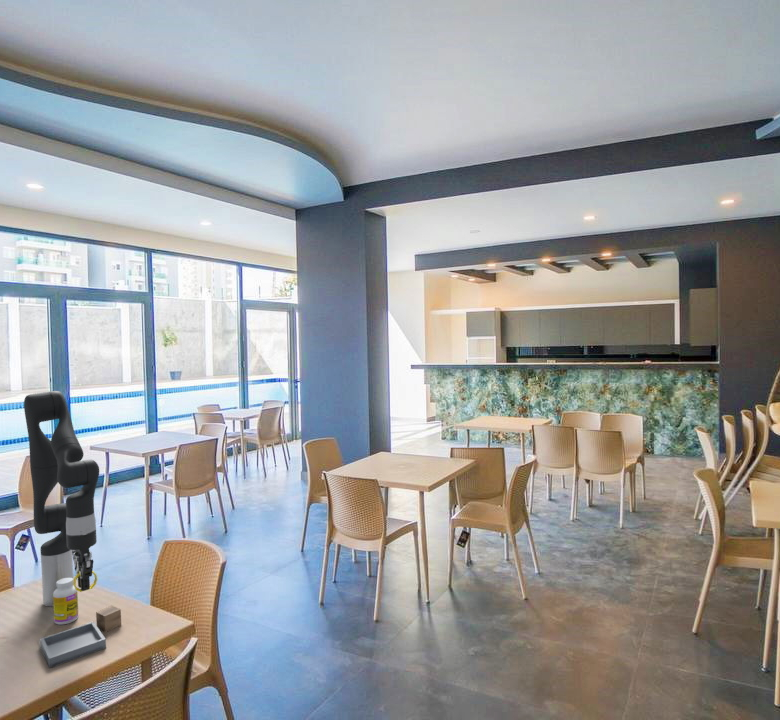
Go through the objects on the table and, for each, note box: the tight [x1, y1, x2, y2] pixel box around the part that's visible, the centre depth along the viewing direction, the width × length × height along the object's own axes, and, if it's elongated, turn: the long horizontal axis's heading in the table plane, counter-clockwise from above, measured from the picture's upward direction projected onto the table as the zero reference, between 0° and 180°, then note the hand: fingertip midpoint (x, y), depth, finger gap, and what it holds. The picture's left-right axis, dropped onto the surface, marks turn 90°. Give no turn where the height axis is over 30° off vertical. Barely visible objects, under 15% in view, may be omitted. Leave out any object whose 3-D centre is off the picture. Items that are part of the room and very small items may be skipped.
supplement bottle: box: [53, 578, 79, 626], centre depth 174 cm, size 7×7×13 cm
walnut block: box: [95, 605, 122, 633], centre depth 169 cm, size 5×5×5 cm
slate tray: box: [39, 620, 107, 669], centre depth 157 cm, size 14×14×3 cm
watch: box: [73, 570, 98, 593], centre depth 159 cm, size 6×3×6 cm, turn 129°
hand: (84, 587), depth 159 cm, fingers closed on watch, 2 cm apart
